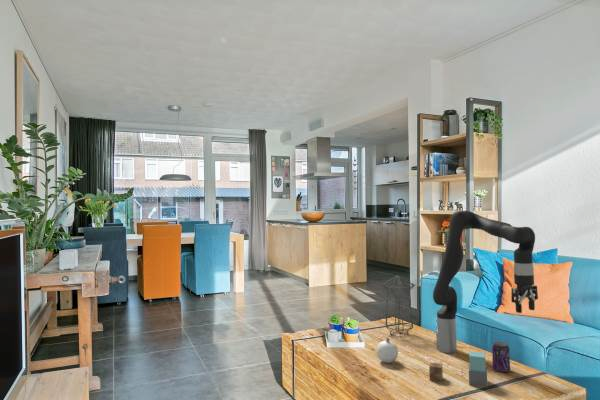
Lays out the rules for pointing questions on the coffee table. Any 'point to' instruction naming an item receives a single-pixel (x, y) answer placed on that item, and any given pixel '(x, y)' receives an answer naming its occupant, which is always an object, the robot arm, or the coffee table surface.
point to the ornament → (387, 351)
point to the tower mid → (477, 361)
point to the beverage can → (501, 357)
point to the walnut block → (436, 372)
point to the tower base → (478, 378)
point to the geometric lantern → (399, 303)
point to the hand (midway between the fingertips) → (525, 311)
